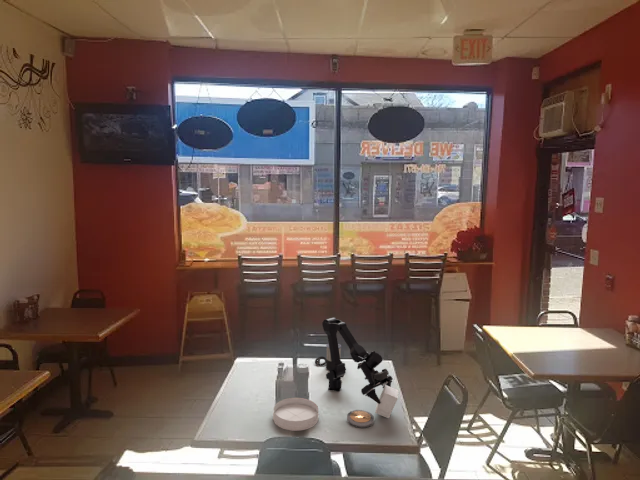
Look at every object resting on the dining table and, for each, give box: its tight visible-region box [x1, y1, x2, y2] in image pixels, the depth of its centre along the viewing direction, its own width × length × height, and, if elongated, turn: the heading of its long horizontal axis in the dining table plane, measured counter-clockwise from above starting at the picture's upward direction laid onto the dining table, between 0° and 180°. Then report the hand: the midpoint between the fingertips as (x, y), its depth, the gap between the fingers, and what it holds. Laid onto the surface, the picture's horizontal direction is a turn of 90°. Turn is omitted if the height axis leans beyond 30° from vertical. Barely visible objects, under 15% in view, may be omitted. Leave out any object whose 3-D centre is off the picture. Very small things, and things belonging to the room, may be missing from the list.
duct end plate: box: [346, 409, 375, 429], centre depth 223 cm, size 13×13×2 cm
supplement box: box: [374, 385, 400, 419], centre depth 227 cm, size 7×7×13 cm
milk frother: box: [314, 342, 342, 372], centre depth 281 cm, size 14×16×15 cm
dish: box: [272, 397, 320, 432], centre depth 223 cm, size 22×22×5 cm
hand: (386, 400), depth 227 cm, fingers closed on supplement box, 9 cm apart
